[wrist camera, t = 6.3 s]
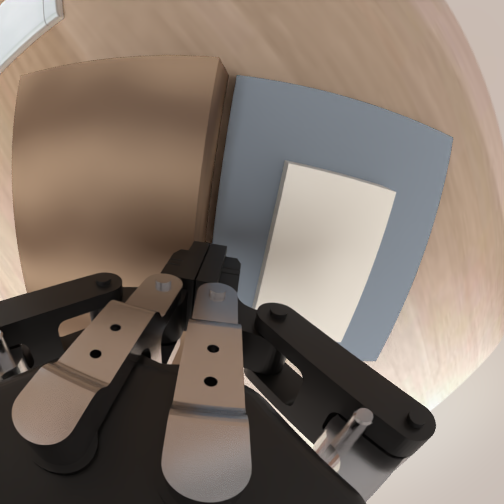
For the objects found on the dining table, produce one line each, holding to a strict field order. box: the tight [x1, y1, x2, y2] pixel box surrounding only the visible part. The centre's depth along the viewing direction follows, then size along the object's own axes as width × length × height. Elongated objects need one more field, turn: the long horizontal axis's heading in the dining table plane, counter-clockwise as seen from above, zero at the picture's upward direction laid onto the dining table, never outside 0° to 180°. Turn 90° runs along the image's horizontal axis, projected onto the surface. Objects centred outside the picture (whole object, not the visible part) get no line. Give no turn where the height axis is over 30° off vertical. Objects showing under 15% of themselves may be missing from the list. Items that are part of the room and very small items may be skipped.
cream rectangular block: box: [252, 160, 396, 342], centre depth 16 cm, size 10×6×2 cm, turn 169°
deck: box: [12, 55, 229, 364], centre depth 15 cm, size 18×12×4 cm, turn 171°
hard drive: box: [0, 0, 64, 74], centre depth 10 cm, size 2×8×12 cm
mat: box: [212, 75, 453, 361], centre depth 17 cm, size 18×14×1 cm
